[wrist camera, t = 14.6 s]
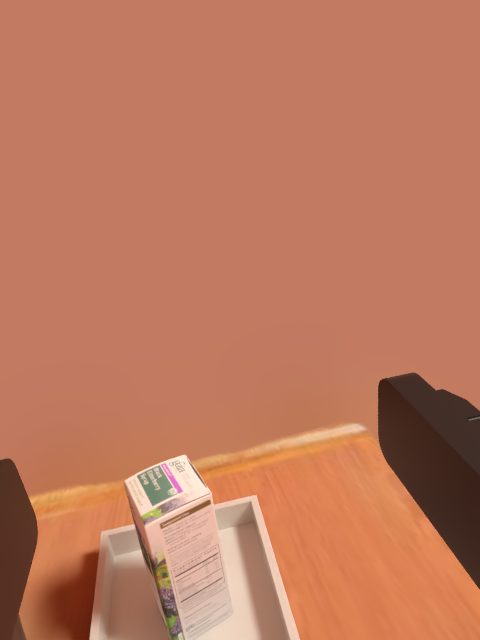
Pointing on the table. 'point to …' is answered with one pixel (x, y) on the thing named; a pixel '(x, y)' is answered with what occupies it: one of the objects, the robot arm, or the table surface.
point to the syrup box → (180, 546)
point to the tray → (241, 570)
